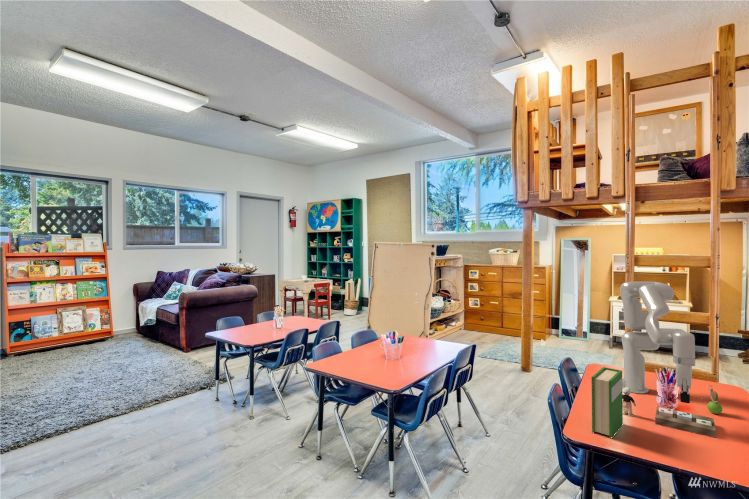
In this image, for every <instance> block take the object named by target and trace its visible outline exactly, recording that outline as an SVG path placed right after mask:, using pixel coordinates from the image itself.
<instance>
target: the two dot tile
mask: <svg viewBox="0 0 749 499" xmlns="http://www.w3.org/2000/svg"><path fill="white" fill-rule="evenodd" d="M658 407H659V415H663V416H667V417H672V418H673V410H674V409H671V408H666V407H661V406H658ZM660 407H661V408H660ZM665 408H666V409H665ZM670 409H671V410H670Z"/></svg>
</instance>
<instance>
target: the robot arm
mask: <svg viewBox="0 0 749 499" xmlns="http://www.w3.org/2000/svg"><path fill="white" fill-rule="evenodd" d="M619 294H620V299H621V301H622V306H623V307H622V308H623V310H622V311H623V324H624V326H625V328H627V329H628V330H634V331H627V332H624V333H623V334H622V336H621V343H622V350H623V378H622V390H623V389H624V388H625V387H628V388H630V390H631V391H630V393H632V394H633V393H634V394H643V395H644V394H647V393H649V388H648V387H647V386H646V367H645V366H646V362H645V361H646V359H645V357H644V355H643V354H642V353H641V351H656V350H658V349H659V348H660V346H672V357H673V358H672V360H673V361H672V363H673V364H675V376H676V380H675V381H676V383H675V384H676V387H677V388H679V387H680V392H679V393H680V394H679V395H680V398H679V399H680V403H683V404H690V403H691V394H690V389H691V388H692V380H693V367H696V343H695V342H696V341H695V340H696V338H695V337H696V336H695V335H694V334H693V333H691V332H687V331H685V329H681V328H668V327H667V328H663V327H661V328H660V320H659V318H661V317H664V316H666V315H668V314H669V312H670V308H669V306H668V304H667V302H669V301H672V300H673V299H674V296H675V292H674V289H673V288H672V286H670V285H669V284H666V283H664V282H658V281H655V280H654V281H643V280H642V281H641V280H640V281H634V280H633V281H625V282H622V284H621V285H620V288H619ZM639 298H641V301H642V302H643V305H644V306H645V309H646V310H647V311H645V312H644V311H643V306H642V302H641V301H640V299H639ZM635 330H640V331H635ZM642 330H643V331H642Z"/></svg>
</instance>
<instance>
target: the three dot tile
mask: <svg viewBox="0 0 749 499" xmlns="http://www.w3.org/2000/svg"><path fill="white" fill-rule="evenodd" d="M676 411H677V419H681V420H686V421H691V422H692V414H693V413H690V412H686V413H685V412H684V411H681V412H680V410H676ZM689 413H690V414H689Z"/></svg>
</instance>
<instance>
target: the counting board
mask: <svg viewBox="0 0 749 499" xmlns="http://www.w3.org/2000/svg"><path fill="white" fill-rule="evenodd" d="M659 407H660V408H662V407H661V406H657V407H656V410H655V415H654V416H655V418H654V419H655V423H654V424H655V425H659V426H662V427H666V428H667V427H668V428H670V429H675V430H680V431H684V432H688V433H693V434H696V435H701V436H706V437H709V438H716V437H717V431H716V430H717V429H716V424H715V418H713V417H709V416H705V415H700V414H696V413H690V412H688V413H689V414H692V422H691V421H686V420H681V419H677V411H678V410H675V409H671V408H669V409H670V410H673V418H672V417H667V416H663V415H659ZM664 408H665V409H667V408H666V407H664ZM679 411H680V410H679ZM680 412H682V411H680ZM685 413H687V412H685ZM696 419H701V420H706V421H711V424H712V426H709V425H704V424H700V423H696Z"/></svg>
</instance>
